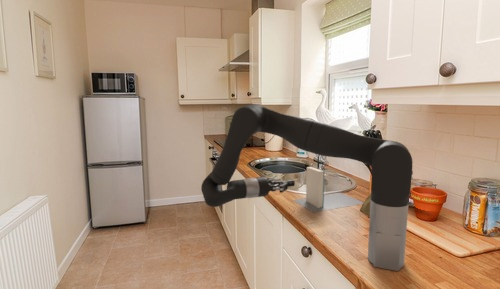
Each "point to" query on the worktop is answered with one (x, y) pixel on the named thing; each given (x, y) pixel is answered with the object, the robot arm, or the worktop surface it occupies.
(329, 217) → the worktop surface
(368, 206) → the rock
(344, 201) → the board
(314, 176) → the tile
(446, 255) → the worktop surface
